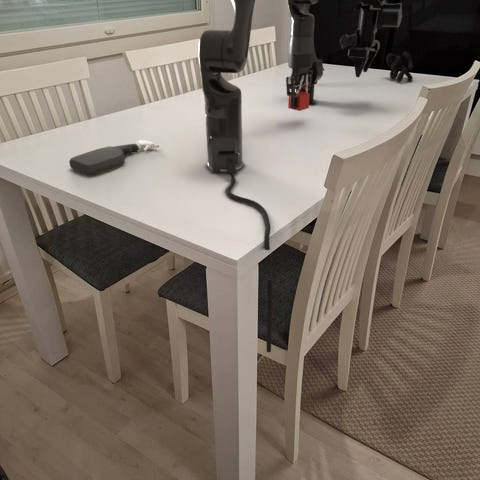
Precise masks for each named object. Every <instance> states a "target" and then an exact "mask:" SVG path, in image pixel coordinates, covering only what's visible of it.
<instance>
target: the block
mask: <svg viewBox="0 0 480 480" xmlns="http://www.w3.org/2000/svg"><path fill="white" fill-rule="evenodd" d="M295 93H296V91H295ZM309 97H310V93H306V92H301V91H299V93H298V104H297V108H296V109H292V108H290V103H291V96H288V102H287V103H288V105H287V108H288V109H290V110H294V111H298V112H301V111H304V110H307V109H309V108H310V104H309Z"/></svg>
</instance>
